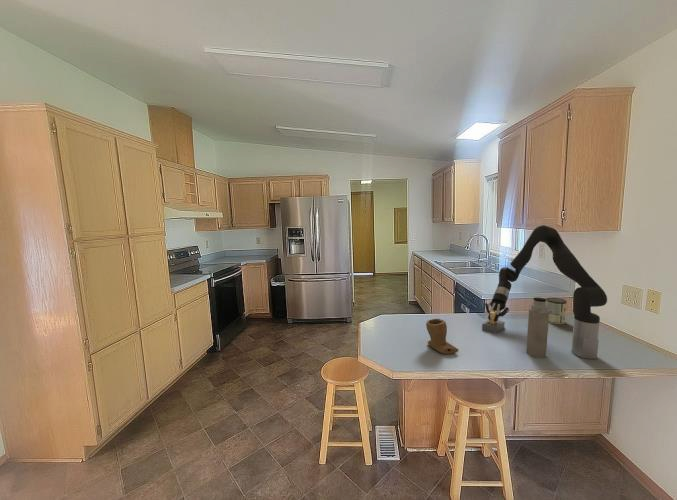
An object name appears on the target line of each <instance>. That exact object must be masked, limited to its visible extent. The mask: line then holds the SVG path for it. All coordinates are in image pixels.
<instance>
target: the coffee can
mask: <svg viewBox="0 0 677 500" xmlns="http://www.w3.org/2000/svg"><path fill="white" fill-rule="evenodd" d="M545 299H546V301H545V302H546V305H547V306H548V311H549V321H548V323H550V324H554V325H565V324H566V314H567V313H566V308H567V300H566V299H564V298H559V297H545Z"/></svg>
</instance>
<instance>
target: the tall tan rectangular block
mask: <svg viewBox="0 0 677 500" xmlns="http://www.w3.org/2000/svg"><path fill="white" fill-rule="evenodd" d="M496 313H497V311H492V312H490V323H491V324H496V323H497V321H496V322H495V321H494V318H495V316H496Z"/></svg>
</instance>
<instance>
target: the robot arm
mask: <svg viewBox="0 0 677 500" xmlns="http://www.w3.org/2000/svg"><path fill="white" fill-rule="evenodd" d="M539 243H543V244H545V245H547V247H548V248H549V249H550V250H551V252H552V260H553V264H554V265H555V266H556V269H558V271H560V273H561V274H563V275H564V276H565V277H567V278H569V279H571V280H572V281H574V282H575V283H577V284H578V286H580V287H576V289H574V291H573V294H572V295H573V296H572V312H573V325H572V328H573V329H572V340H571V341H572V342H571V353H572V354H573V355H575V356H577V357H579V358H581V359H589V360H597V359H598V350H599V332H600V331H599V329H600V320H601V318H600V316H599V314H596V313H593V312H592V310H591V308H592V307H595V308H596V307H597V308H598V307H603V306H606V304H607V302H608V296H607V294H606V292H605V291H604V289H603V288H602V287H601V286H600V285H599V284H598V283H597V282H596V281H595V280H594V279H593V278H592V276H590V275H589V273H588V271H586V269H585V268H584V266H582V264H581V263H580V261H579V260H578V259H577V258H576V256H575V255H574V253H572V251H571V250H570V248H568V246H567V245H566V244H565V242H564V241H563V239H562V236H561V235H560V233H559V232H558V230H556V229H555V228H553V227H551V226H547V225H544V224H540V225H537V226H536V227H535V228H534V229H533V230H532V232H531V234H529V237H528V238H527V240H526V242H524V245H523V246H522V248H521V250H520V251H519V252H518V254H517V255H516V256H515V257H514V258H513V259H512V261H511V262H510V266H511V267H512V268H513V269H512V268H510V267H508V266H503V267H501V268H500V270H499V272H498V284H497V287H496V289H495V291H494V294H493V295H492V300H491V301H490V302H489V303H487V302H486V303H484V306H485V310H486V312H487V314H488V316H487V320H490V312H492V311H497V313H496V316H495V318H494V321H495V322H496V321H498V320H499V318H500V317H504V316H505V315H506V314H508V313H509V312H510V308H509V307H507V305H506V304H507V302H508V299H509V298H510V297H509V296H510V292H511V289H512V282H513V283H514V282H516V281H517V280H518V279H519V277H520V274H521V272H522V270H523V269H524V268H525V266H526V265H527V264H528V263H529V262H530V261H531V259H532V255H533V252H534V249H535V247H536V246H537V245H538V244H539ZM490 307H491V308H490Z"/></svg>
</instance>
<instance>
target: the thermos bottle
mask: <svg viewBox="0 0 677 500" xmlns="http://www.w3.org/2000/svg"><path fill="white" fill-rule="evenodd" d="M548 321H549V311H548V306H547V305H546V298H544V297H533V303H531V304H530V307H529V309H528V321H527V336H526V350H525V353H526V354H527V355H529V356H530V357H533V358H537V359H538V358H539V359H544V358H546V357H547V350H548V349H547V345H548V335H549V334H548V333H549V332H548V331H549V322H548Z"/></svg>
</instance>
